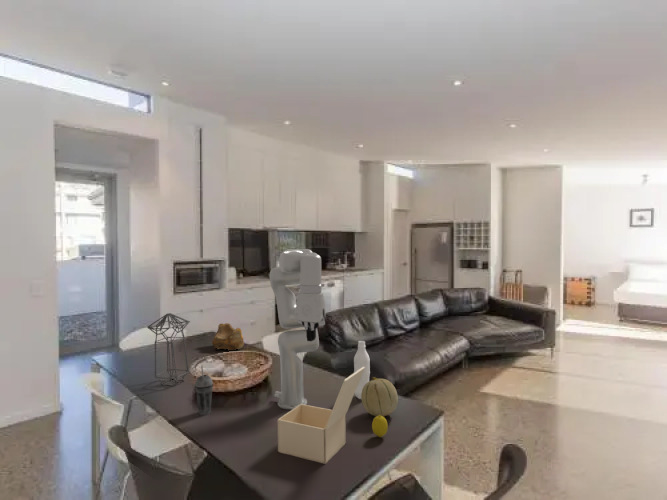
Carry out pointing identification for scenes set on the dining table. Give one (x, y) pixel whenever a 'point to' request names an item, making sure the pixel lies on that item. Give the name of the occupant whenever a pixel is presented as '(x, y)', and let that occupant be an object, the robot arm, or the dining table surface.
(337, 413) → the carton lid
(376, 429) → the lemon
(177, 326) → the geometric lantern
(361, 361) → the water bottle
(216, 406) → the dining table surface
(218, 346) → the rough brown rock
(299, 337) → the robot arm
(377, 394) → the cantaloupe
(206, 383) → the beverage cup
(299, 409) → the carton
